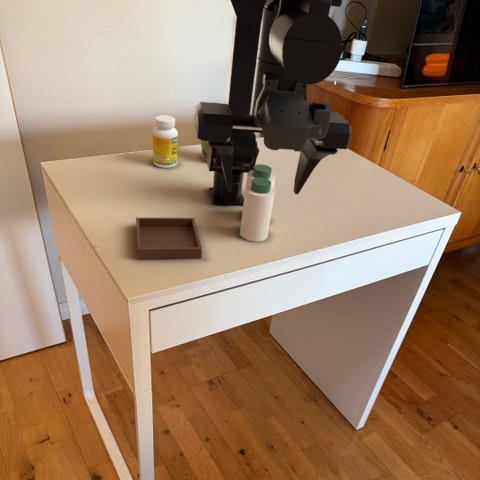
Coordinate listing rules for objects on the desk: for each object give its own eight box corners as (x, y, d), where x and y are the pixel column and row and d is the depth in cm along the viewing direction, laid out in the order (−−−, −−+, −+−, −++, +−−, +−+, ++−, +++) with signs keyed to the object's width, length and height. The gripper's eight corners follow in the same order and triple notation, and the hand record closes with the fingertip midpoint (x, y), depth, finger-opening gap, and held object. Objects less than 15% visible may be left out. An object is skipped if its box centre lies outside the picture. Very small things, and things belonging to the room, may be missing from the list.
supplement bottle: (156, 157, 102) (155, 112, 96) (179, 160, 102) (180, 116, 96) (150, 166, 98) (149, 120, 92) (174, 170, 98) (175, 124, 92)
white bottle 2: (237, 227, 83) (243, 174, 76) (263, 227, 84) (272, 175, 77) (242, 241, 79) (250, 188, 73) (270, 241, 80) (280, 188, 74)
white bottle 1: (239, 212, 87) (245, 161, 81) (264, 212, 88) (272, 162, 82) (244, 225, 83) (251, 173, 77) (270, 225, 85) (280, 174, 78)
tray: (136, 227, 79) (135, 217, 77) (193, 227, 81) (194, 217, 80) (138, 259, 71) (137, 249, 70) (201, 258, 74) (201, 248, 72)
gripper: (206, 70, 43) (198, 219, 53) (387, 87, 47) (347, 223, 57) (197, 47, 51) (191, 179, 61) (351, 62, 55) (322, 184, 65)
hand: (262, 191), depth 61 cm, fingers open, 9 cm apart
